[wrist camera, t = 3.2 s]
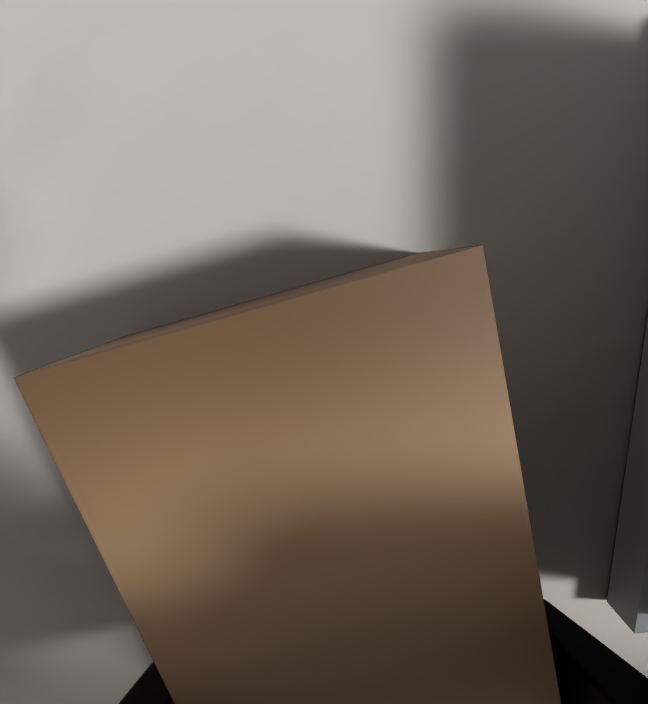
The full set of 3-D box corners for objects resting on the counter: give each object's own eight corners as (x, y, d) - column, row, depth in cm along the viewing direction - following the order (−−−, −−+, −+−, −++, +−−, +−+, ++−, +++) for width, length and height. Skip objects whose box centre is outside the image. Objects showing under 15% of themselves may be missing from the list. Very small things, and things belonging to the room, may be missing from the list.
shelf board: (521, 747, 10) (600, 933, 8) (316, 793, 11) (317, 991, 8) (416, 253, 7) (482, 245, 4) (129, 334, 8) (13, 377, 5)
